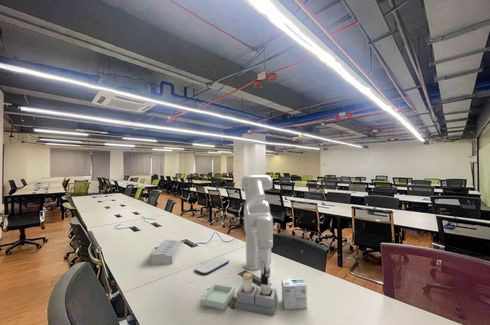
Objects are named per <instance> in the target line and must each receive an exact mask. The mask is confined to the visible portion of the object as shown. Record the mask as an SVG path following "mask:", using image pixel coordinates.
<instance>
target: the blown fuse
mask: <svg viewBox="0 0 490 325" xmlns="http://www.w3.org/2000/svg"><path fill="white" fill-rule="evenodd" d="M264 269H266V268H264ZM264 272H265V273H266V271H264ZM267 276H268V285H263V284H261V283H260V287H261V293H262V294H263V295H269V294H270V288H271V267H270V268H269V269H268V270H267Z"/></svg>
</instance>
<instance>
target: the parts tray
mask: <svg viewBox="0 0 490 325" xmlns="http://www.w3.org/2000/svg"><path fill="white" fill-rule="evenodd" d="M235 295H236V287H235V286H232V285H227V284H219V283H213V284H212V285H211V286H210V287H209V288H208V290H207V291H206V292H205V293H204V295H202V297H201V298H200V306H201V307H202V308H207V309H213V310H218V311H222V312H225V311H226V309H227V308H228V305H229V304H230V303H231V301H232V299H233V298H234V296H235Z"/></svg>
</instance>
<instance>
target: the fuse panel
mask: <svg viewBox="0 0 490 325" xmlns="http://www.w3.org/2000/svg"><path fill="white" fill-rule="evenodd" d="M278 297H279V296H278V295H277V288H275V287H274V288H273V287H272V288H271V287H270V294H269V295H263V294H262V293H261V285H259V286H258V285H253V284H252V294H251V293H245V292H243V283H241V284H240V287H239V288H238V290H237V292H236V301H235V303H234V309H237V310H241V311H247V312H253V313H258V314H264V315H269V316H274V315H275V312H276V308H277V305H278V304H277V303H278V300H279V298H278Z"/></svg>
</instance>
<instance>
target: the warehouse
mask: <svg viewBox="0 0 490 325" xmlns="http://www.w3.org/2000/svg"><path fill="white" fill-rule="evenodd" d="M183 248H184V241H182V240H173V239H172V240H171V239H164V240H163V241H162V242H161V243H160V244H159V245H158V246H157V247H156V249H154V250H153V251H152V253H151V254H150V266H154V265H155V266H156V265H158V266H159V265H173V264H174V262H175V261H176V258H177V257H178V255H179V254H180V253H181V252H182V249H183Z"/></svg>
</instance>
